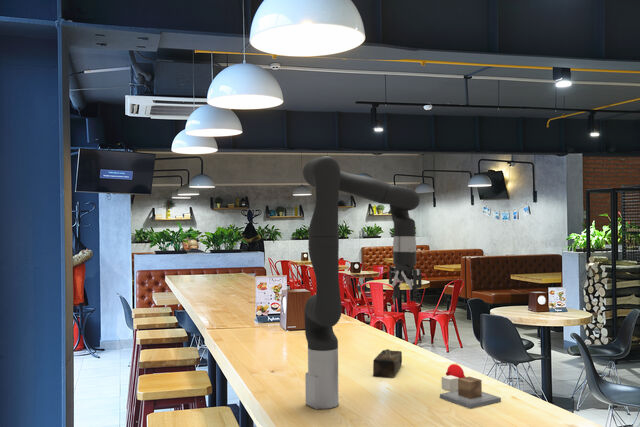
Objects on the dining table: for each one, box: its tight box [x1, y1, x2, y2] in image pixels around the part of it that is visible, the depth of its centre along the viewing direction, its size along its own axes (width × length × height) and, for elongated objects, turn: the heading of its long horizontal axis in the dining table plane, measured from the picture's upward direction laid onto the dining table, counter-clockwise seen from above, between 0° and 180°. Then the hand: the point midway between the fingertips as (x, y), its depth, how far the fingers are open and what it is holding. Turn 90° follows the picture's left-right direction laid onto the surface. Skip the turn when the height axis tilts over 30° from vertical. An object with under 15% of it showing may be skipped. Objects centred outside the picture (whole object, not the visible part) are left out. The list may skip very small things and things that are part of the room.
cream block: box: [441, 375, 459, 392], centre depth 199 cm, size 4×4×4 cm
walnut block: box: [458, 376, 483, 399], centre depth 187 cm, size 5×5×5 cm
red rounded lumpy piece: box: [445, 363, 466, 378], centre depth 207 cm, size 8×6×6 cm
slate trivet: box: [439, 390, 502, 409], centre depth 187 cm, size 13×13×1 cm
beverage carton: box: [372, 348, 403, 379], centre depth 224 cm, size 8×19×7 cm, turn 163°
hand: (404, 299), depth 197 cm, fingers open, 8 cm apart
